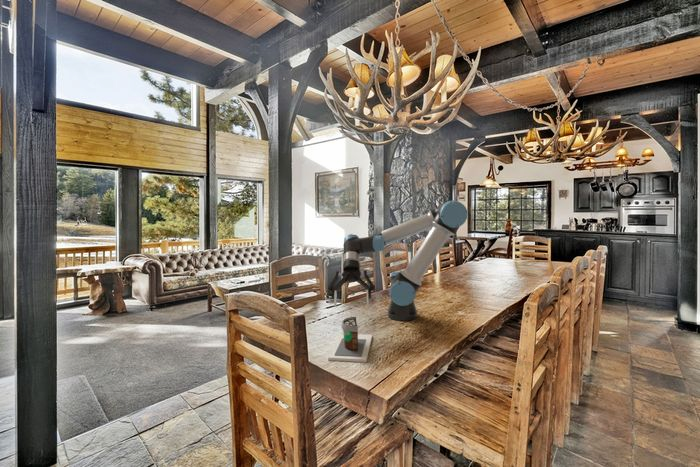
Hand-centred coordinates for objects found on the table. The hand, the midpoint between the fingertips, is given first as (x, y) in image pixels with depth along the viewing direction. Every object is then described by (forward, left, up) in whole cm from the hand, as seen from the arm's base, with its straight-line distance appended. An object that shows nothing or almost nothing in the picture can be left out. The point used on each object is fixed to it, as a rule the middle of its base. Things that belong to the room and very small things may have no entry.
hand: (351, 305), depth 138 cm
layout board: (-1, +7, -15) cm, 17 cm away
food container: (0, +9, -14) cm, 17 cm away
